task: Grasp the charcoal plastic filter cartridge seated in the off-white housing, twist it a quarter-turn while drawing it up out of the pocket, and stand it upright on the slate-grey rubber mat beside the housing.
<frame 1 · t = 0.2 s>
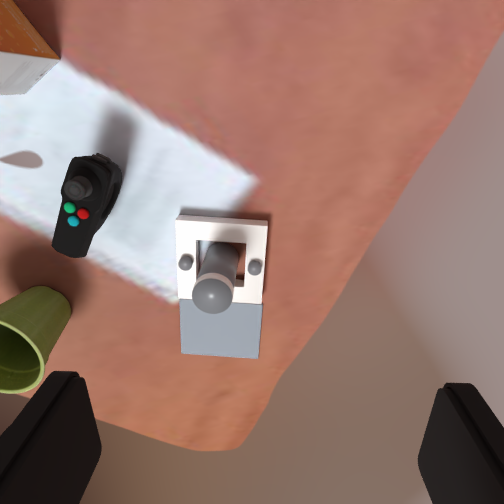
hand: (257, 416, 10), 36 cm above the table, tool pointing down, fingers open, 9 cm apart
plant pot: (47, 304, 53), on the table
controller: (106, 192, 45), on the table
mat: (220, 328, 53), on the table
cartridge: (222, 257, 48), resting in housing
small box: (16, 44, 39), on the table
housing: (222, 257, 48), on the table
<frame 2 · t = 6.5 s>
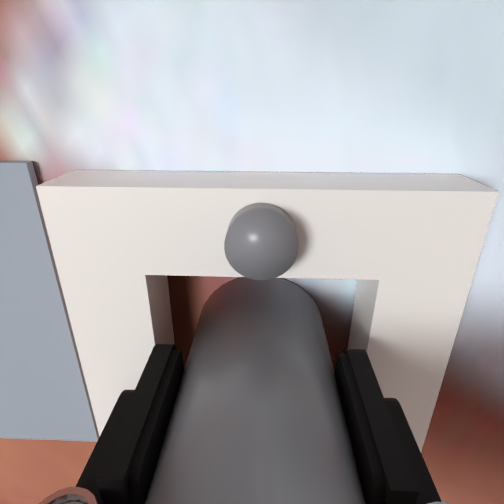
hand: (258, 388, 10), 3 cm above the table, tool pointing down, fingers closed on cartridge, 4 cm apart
cartridge: (260, 328, 13), resting in housing, touching gripper
housing: (260, 328, 13), on the table
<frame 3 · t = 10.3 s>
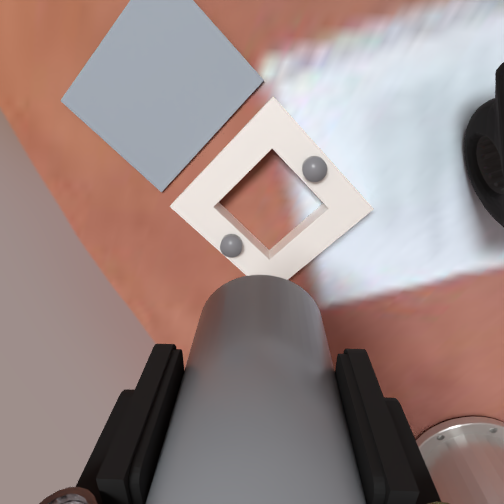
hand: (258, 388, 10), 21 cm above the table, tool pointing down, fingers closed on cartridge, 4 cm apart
controller: (480, 140, 28), on the table
mat: (161, 90, 27), on the table
cartridge: (260, 328, 13), point 19 cm above the table, touching gripper
housing: (270, 200, 30), on the table
when the fingers open (5 cm above the table, at t = 14.5 s): cartridge drops 2 cm, resting on mat.
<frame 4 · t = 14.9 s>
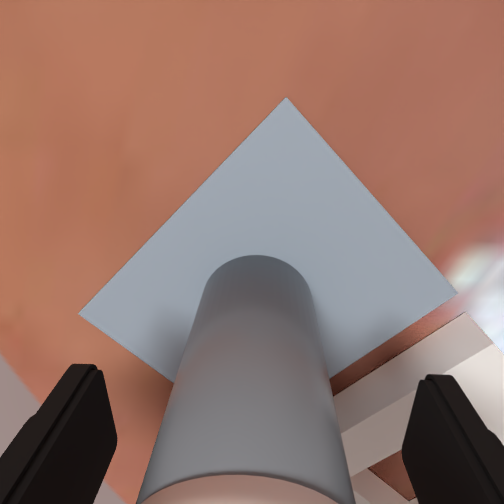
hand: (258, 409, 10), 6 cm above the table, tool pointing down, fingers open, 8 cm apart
mat: (261, 299, 15), on the table
cartridge: (256, 304, 15), resting on mat
housing: (425, 445, 18), on the table
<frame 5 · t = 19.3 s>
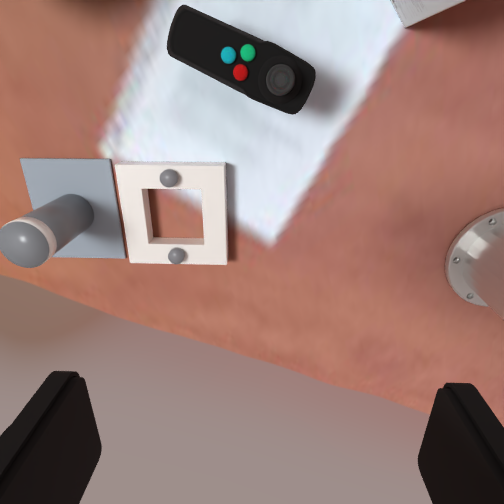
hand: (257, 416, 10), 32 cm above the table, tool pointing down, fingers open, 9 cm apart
controller: (246, 67, 35), on the table
mat: (76, 210, 42), on the table
cartridge: (74, 212, 41), resting on mat
housing: (177, 211, 41), on the table
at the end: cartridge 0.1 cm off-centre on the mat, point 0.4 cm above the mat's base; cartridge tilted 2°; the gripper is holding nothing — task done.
